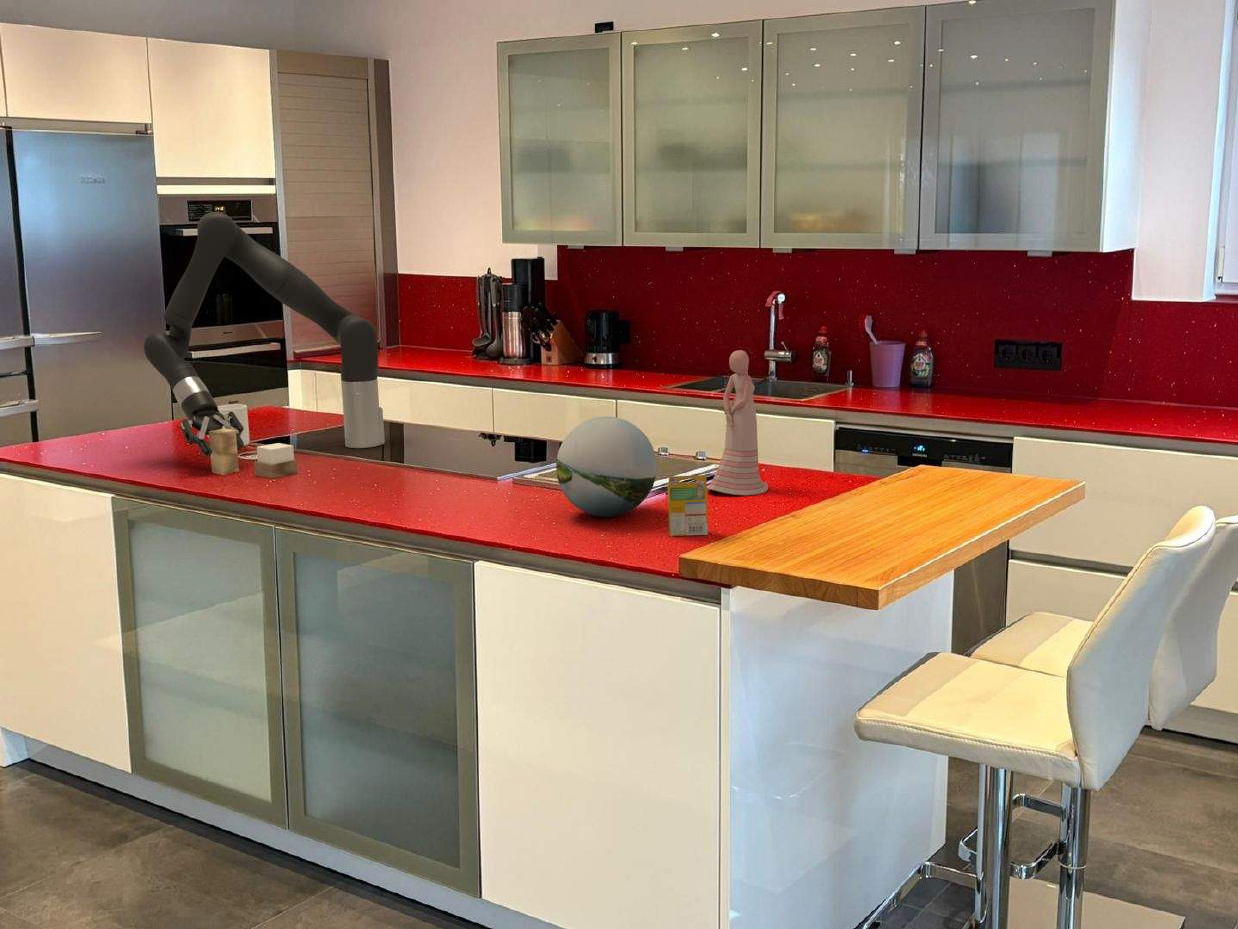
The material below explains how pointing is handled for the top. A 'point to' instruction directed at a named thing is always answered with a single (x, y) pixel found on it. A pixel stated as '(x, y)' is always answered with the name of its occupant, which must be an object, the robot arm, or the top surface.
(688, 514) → the crayon box
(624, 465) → the decorative sphere
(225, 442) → the pillar
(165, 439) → the top surface
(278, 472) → the slab base
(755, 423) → the figurine
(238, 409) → the cup
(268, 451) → the slab top
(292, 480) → the top surface
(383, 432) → the robot arm
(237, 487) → the top surface
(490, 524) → the top surface
